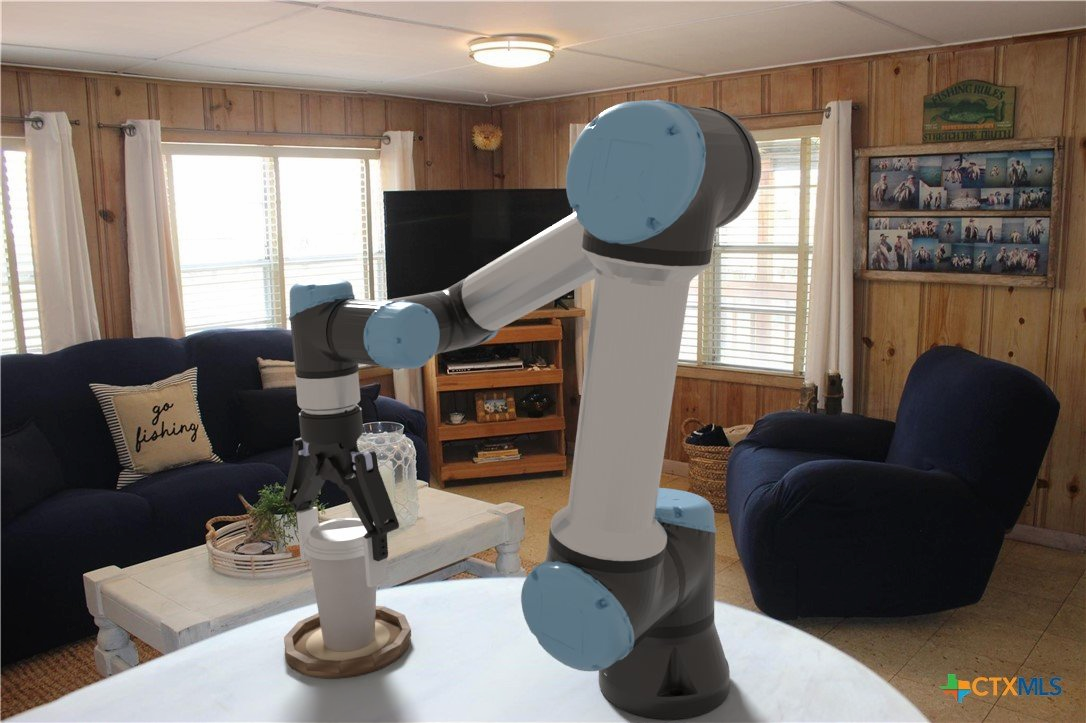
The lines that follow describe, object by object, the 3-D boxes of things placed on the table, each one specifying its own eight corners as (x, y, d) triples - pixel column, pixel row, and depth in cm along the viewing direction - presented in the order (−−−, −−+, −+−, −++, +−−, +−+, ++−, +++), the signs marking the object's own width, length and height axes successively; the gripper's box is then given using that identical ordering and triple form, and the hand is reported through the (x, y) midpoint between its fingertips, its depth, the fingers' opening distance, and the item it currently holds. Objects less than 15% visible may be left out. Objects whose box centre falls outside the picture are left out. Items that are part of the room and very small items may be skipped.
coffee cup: (395, 622, 120) (389, 516, 117) (374, 659, 110) (368, 544, 108) (325, 620, 121) (318, 514, 118) (299, 656, 111) (291, 543, 109)
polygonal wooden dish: (435, 639, 117) (434, 627, 116) (336, 693, 105) (335, 678, 105) (359, 606, 127) (358, 594, 126) (260, 651, 115) (259, 638, 115)
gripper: (421, 414, 105) (432, 584, 109) (296, 389, 121) (309, 538, 125) (370, 428, 99) (383, 606, 103) (246, 400, 115) (261, 556, 119)
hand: (343, 569), depth 114 cm, fingers open, 13 cm apart
